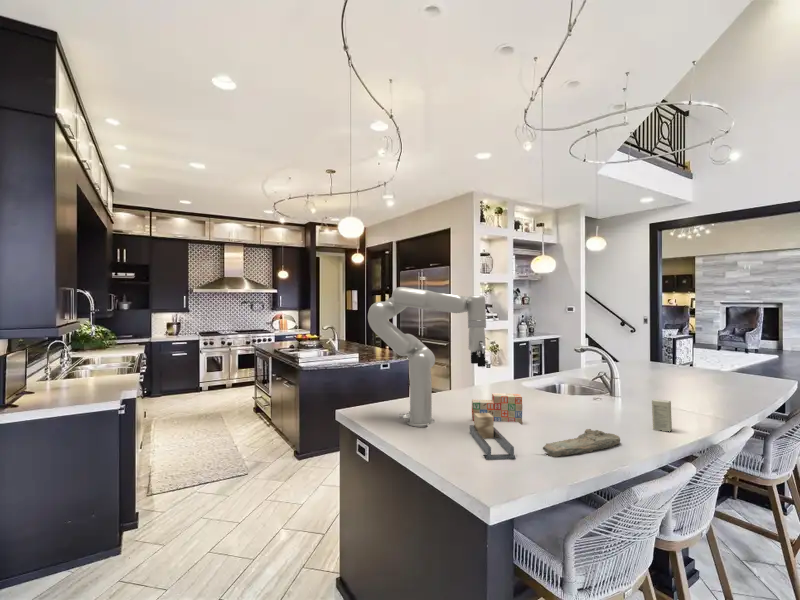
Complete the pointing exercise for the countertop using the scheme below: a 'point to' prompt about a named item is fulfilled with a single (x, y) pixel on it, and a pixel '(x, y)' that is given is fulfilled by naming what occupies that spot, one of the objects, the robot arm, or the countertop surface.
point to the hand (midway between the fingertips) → (478, 364)
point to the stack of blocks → (500, 407)
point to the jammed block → (484, 424)
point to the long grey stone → (582, 443)
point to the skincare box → (661, 415)
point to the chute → (487, 448)
